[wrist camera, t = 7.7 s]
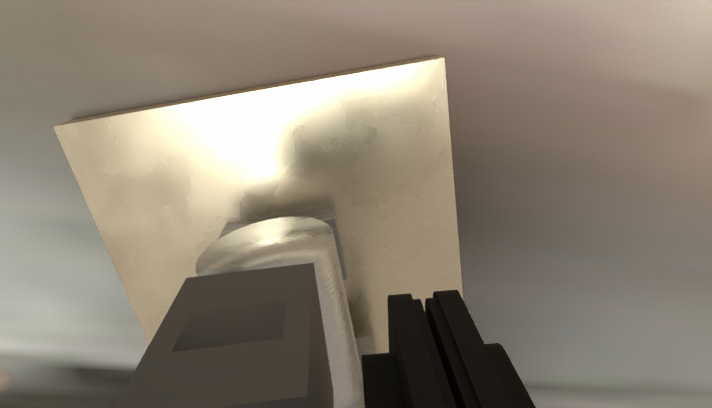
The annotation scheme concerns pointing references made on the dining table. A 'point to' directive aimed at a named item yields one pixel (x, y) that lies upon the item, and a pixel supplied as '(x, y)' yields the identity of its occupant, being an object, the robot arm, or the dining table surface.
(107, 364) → the dining table surface
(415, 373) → the robot arm
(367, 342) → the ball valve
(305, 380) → the valve lever
